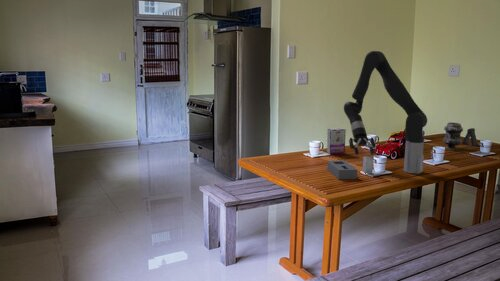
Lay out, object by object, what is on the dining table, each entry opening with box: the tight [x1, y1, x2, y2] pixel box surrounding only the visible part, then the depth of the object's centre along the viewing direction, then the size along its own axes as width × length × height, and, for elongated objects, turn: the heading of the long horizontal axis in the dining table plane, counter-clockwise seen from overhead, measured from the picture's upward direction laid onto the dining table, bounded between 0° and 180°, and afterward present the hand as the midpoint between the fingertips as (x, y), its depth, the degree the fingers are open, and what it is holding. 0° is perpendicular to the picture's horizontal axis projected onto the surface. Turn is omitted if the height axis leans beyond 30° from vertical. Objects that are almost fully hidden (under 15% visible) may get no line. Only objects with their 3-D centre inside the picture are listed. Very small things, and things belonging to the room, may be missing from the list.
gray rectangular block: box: [362, 155, 374, 175], centre depth 231 cm, size 4×4×9 cm
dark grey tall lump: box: [442, 121, 464, 151], centre depth 291 cm, size 12×12×18 cm
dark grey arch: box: [461, 127, 479, 147], centre depth 305 cm, size 9×6×12 cm, turn 40°
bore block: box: [326, 160, 358, 180], centre depth 229 cm, size 10×20×5 cm, turn 7°
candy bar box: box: [326, 127, 347, 155], centre depth 278 cm, size 11×5×16 cm, turn 105°
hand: (364, 154), depth 234 cm, fingers open, 8 cm apart
